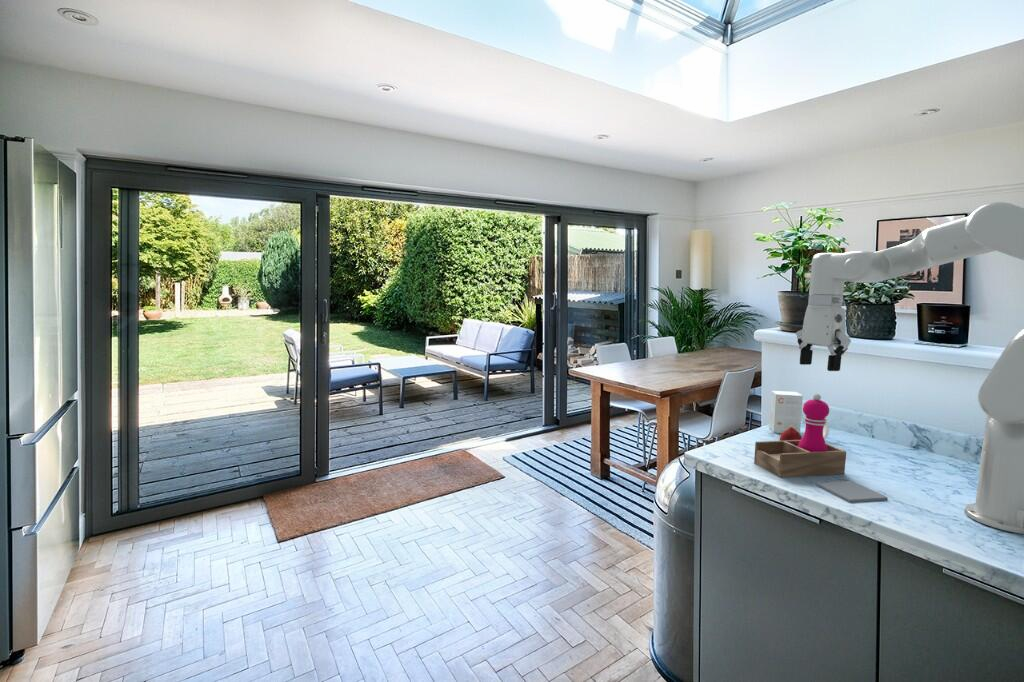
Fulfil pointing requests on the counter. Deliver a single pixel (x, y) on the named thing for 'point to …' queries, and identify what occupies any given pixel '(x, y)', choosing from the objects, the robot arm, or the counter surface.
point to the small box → (785, 411)
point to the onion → (790, 434)
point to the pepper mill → (814, 425)
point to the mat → (851, 491)
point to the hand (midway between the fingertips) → (819, 367)
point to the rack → (798, 459)
